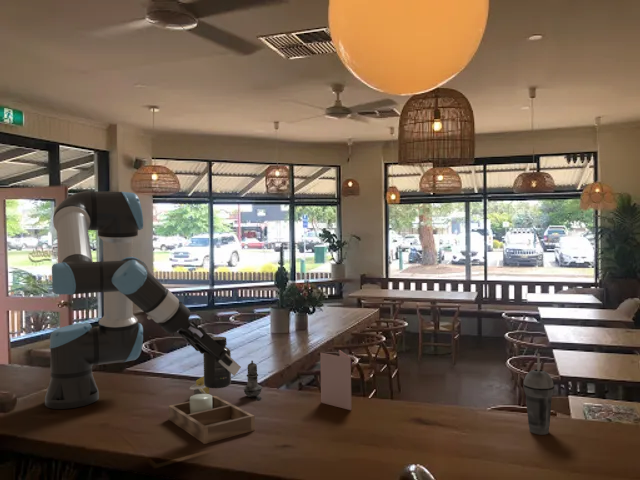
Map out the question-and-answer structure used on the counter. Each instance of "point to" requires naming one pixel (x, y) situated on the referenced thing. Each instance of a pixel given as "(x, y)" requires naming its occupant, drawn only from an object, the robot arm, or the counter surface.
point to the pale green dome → (200, 403)
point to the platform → (200, 387)
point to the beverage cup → (538, 399)
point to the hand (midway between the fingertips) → (230, 368)
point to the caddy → (212, 420)
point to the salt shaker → (252, 383)
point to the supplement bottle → (216, 368)
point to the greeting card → (336, 380)
